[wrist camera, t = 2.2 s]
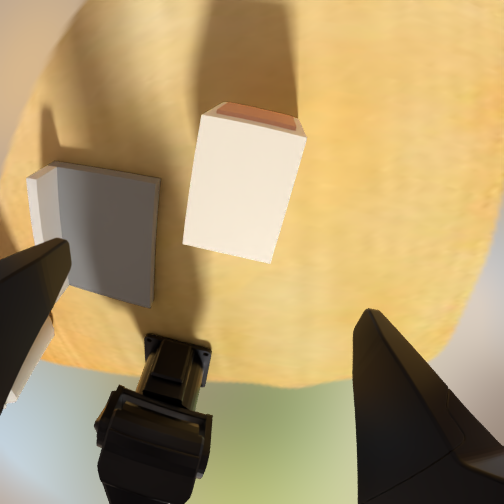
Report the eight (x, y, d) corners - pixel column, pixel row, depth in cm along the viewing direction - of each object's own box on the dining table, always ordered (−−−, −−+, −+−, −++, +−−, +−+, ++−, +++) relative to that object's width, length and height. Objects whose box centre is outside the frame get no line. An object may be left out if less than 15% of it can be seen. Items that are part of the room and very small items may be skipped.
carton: (272, 212, 21) (270, 263, 16) (206, 197, 21) (182, 244, 16) (299, 115, 18) (308, 133, 12) (224, 98, 17) (202, 110, 12)
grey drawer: (153, 300, 26) (140, 329, 23) (63, 274, 26) (44, 298, 23) (160, 178, 20) (141, 199, 17) (51, 160, 20) (23, 177, 17)
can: (3, 302, 29) (-48, 371, 19) (18, 275, 27) (-45, 355, 16) (45, 342, 32) (3, 417, 22) (67, 323, 29) (17, 411, 19)
